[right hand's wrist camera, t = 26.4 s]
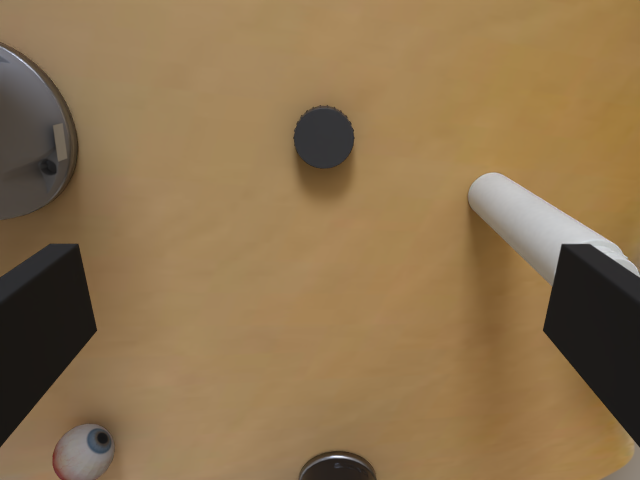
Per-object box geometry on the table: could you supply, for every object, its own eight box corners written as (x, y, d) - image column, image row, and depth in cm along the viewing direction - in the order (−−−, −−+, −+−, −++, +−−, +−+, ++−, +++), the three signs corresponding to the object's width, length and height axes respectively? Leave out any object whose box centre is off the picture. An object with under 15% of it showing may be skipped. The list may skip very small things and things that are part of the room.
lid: (364, 127, 39) (367, 130, 37) (330, 175, 41) (331, 181, 39) (316, 92, 38) (316, 94, 36) (283, 143, 40) (281, 147, 38)
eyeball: (135, 432, 52) (113, 477, 46) (101, 459, 53) (76, 506, 48) (93, 401, 50) (65, 444, 44) (59, 430, 52) (28, 475, 46)
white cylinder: (461, 185, 41) (560, 272, 24) (503, 164, 40) (637, 239, 23) (476, 222, 42) (582, 330, 25) (518, 202, 42) (655, 300, 25)
